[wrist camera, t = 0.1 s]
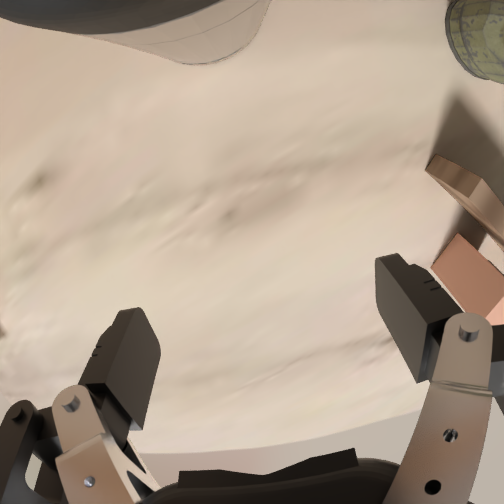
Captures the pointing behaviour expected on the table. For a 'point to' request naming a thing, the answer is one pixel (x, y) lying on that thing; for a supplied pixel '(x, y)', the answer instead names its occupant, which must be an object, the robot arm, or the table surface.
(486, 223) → the walnut screen
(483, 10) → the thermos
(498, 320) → the marked block
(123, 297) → the table surface
